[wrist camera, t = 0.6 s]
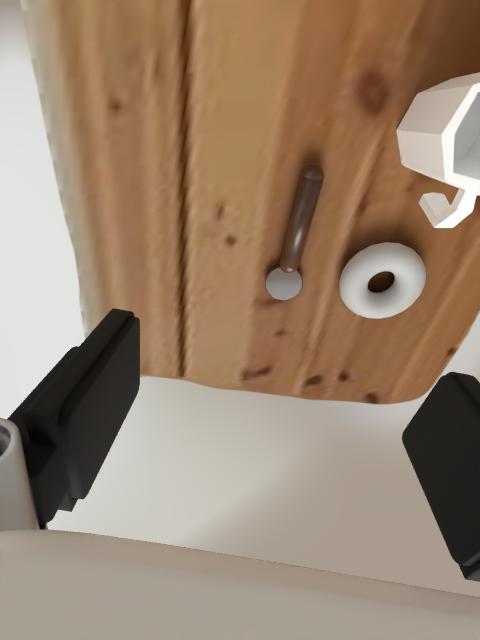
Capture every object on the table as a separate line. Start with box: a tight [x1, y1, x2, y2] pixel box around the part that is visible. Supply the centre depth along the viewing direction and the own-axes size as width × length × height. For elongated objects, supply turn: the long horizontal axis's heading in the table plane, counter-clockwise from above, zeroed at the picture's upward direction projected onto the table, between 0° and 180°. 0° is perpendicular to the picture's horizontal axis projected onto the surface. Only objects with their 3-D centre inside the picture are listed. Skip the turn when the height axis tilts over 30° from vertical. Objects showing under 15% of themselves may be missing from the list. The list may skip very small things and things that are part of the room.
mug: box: [396, 73, 480, 228], centre depth 28 cm, size 12×9×10 cm
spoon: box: [265, 165, 324, 300], centre depth 37 cm, size 16×5×2 cm, turn 171°
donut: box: [339, 242, 426, 319], centre depth 39 cm, size 10×4×10 cm
